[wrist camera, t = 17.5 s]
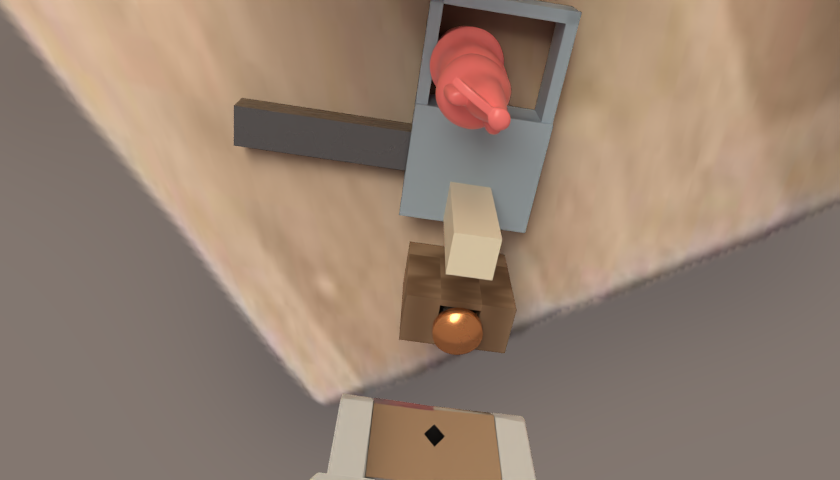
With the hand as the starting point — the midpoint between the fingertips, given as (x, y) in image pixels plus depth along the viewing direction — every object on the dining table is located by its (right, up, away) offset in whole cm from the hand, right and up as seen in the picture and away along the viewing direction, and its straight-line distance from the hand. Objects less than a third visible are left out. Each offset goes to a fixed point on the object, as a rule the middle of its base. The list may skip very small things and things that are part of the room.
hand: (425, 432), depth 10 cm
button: (+3, 0, +40) cm, 40 cm away
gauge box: (+3, +1, +42) cm, 42 cm away
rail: (-3, +11, +36) cm, 38 cm away
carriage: (+4, +13, +35) cm, 37 cm away
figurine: (+3, +16, +33) cm, 37 cm away
